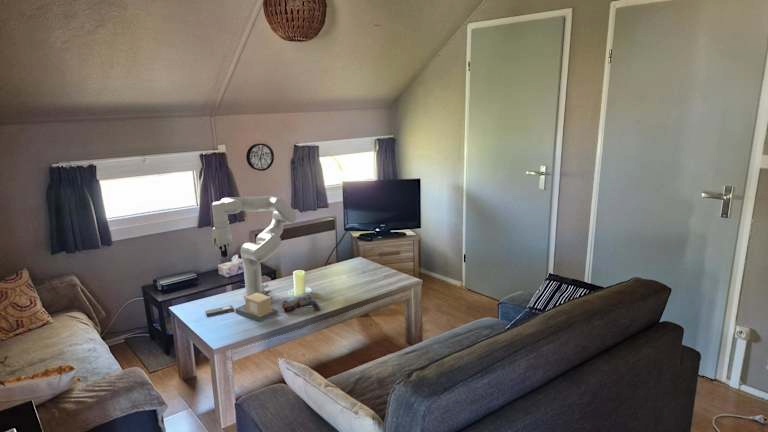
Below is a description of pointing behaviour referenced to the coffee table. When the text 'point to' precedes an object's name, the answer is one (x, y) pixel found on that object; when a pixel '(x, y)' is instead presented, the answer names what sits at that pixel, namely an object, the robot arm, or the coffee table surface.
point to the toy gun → (300, 304)
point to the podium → (243, 312)
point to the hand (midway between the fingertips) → (224, 256)
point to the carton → (258, 304)
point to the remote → (219, 310)
